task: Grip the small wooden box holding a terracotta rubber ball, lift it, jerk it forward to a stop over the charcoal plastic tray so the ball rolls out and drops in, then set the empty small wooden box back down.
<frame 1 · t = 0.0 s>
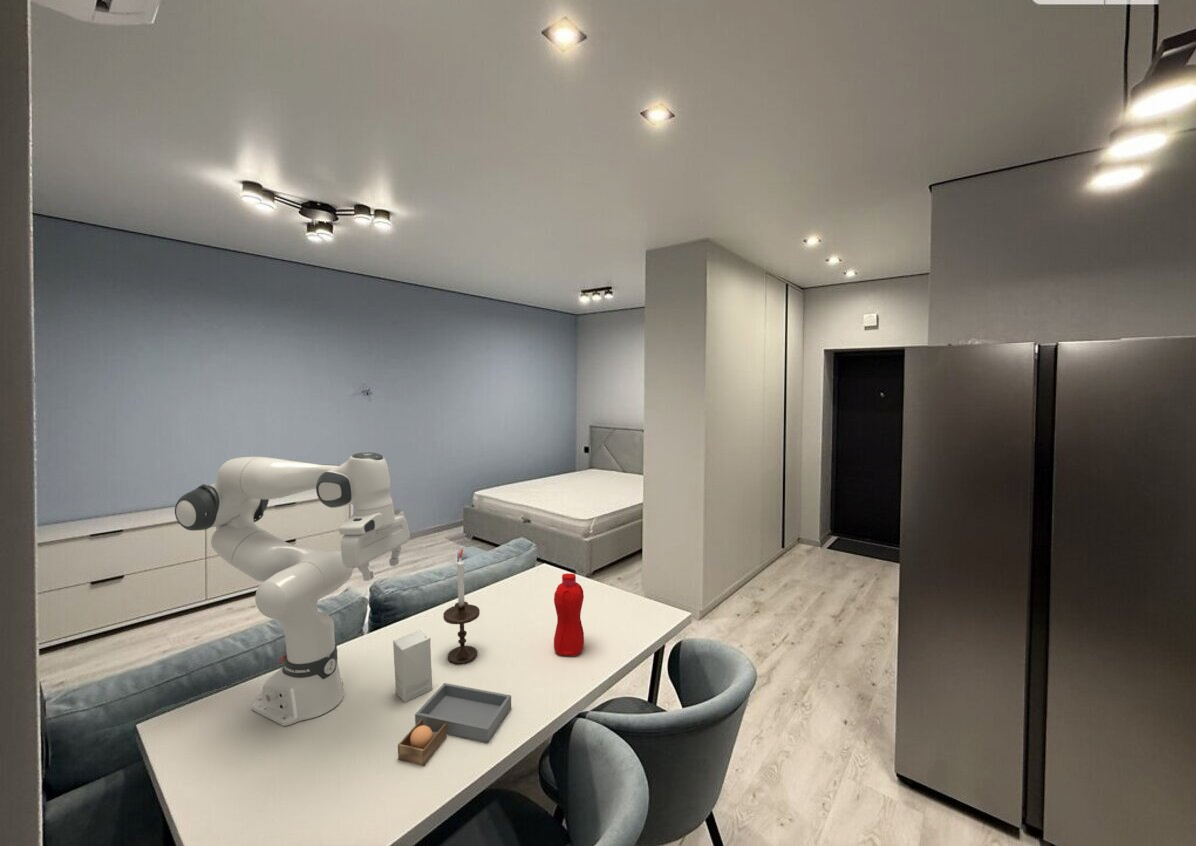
hand: (382, 572, 122), 39 cm above the table, tool pointing down, fingers open, 8 cm apart
water bottle: (569, 648, 159), on the table
skincare box: (414, 692, 136), on the table
small wooden box: (423, 748, 116), on the table, touching ball
candlestick: (462, 657, 153), on the table
ball: (421, 737, 115), point 3 cm above the table, touching small wooden box
tray: (464, 717, 126), on the table
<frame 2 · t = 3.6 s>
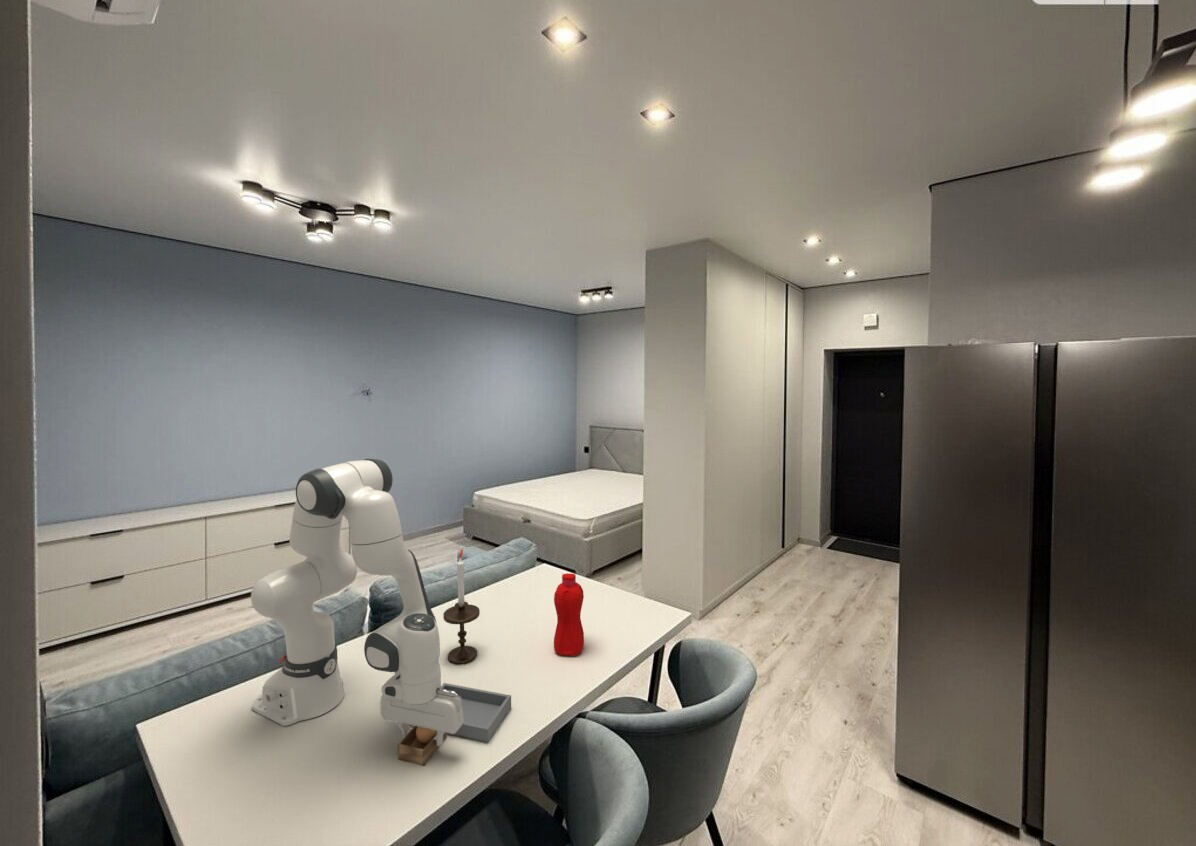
hand: (422, 740, 115), 2 cm above the table, tool pointing down, fingers closed on small wooden box, 7 cm apart
small wooden box: (423, 748, 116), on the table, touching ball, gripper
ball: (427, 731, 117), point 3 cm above the table, tilted 53°, touching small wooden box
everything else where it was.
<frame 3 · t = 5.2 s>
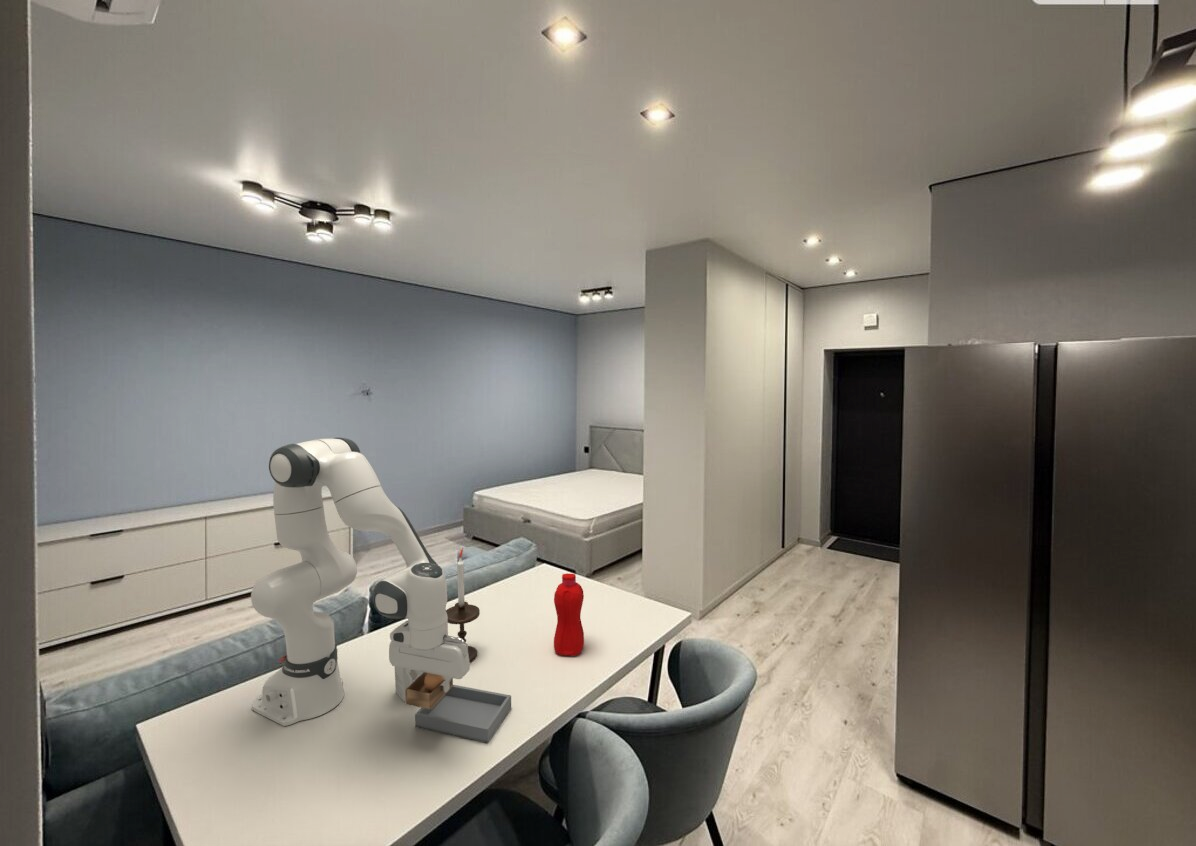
hand: (429, 687, 118), 13 cm above the table, tool pointing down, fingers closed on small wooden box, 7 cm apart
small wooden box: (430, 694, 118), point 11 cm above the table, touching ball, gripper
ball: (435, 680, 119), point 14 cm above the table, tilted 45°, touching small wooden box
everything else where it was.
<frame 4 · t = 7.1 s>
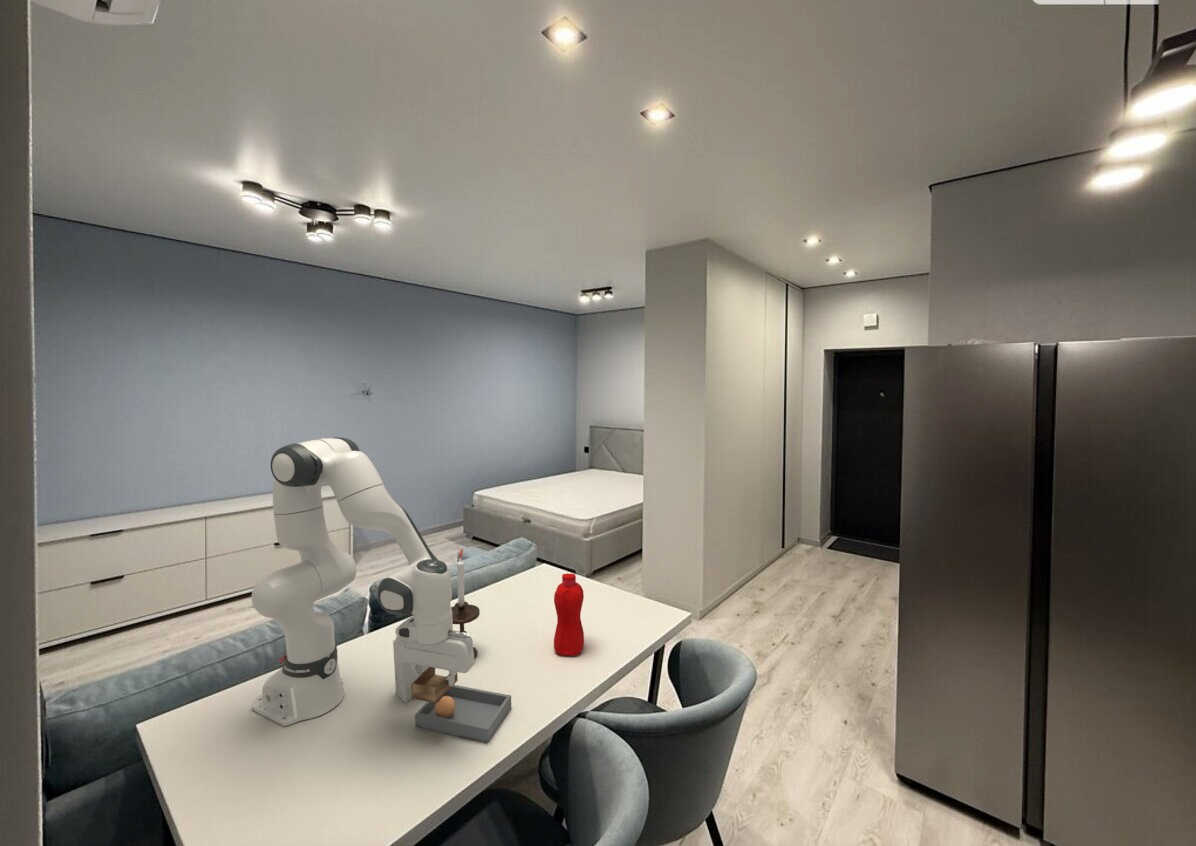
hand: (435, 681, 120), 13 cm above the table, tool pointing down, fingers closed on small wooden box, 7 cm apart
small wooden box: (435, 689, 120), point 11 cm above the table, touching gripper
ball: (445, 707, 125), point 3 cm above the table, tilted 125°, touching tray
everything else where it was.
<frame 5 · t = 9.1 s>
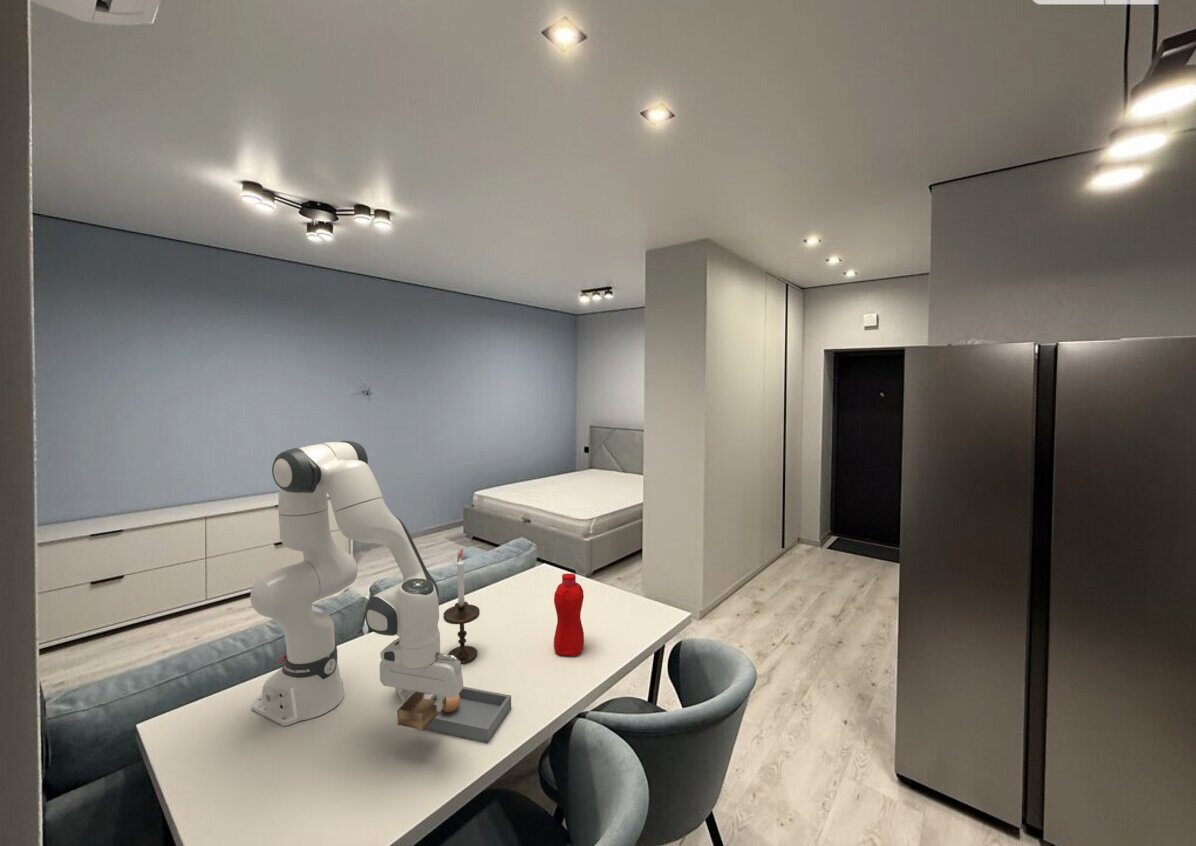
hand: (422, 706, 114), 10 cm above the table, tool pointing down, fingers closed on small wooden box, 7 cm apart
small wooden box: (422, 714, 115), point 9 cm above the table, touching gripper
ball: (450, 700, 128), point 3 cm above the table, tilted 176°, touching tray
everything else where it was.
when the fingers open (2 cm above the table, at t = 11.0 s): small wooden box stays where it is, on the table.
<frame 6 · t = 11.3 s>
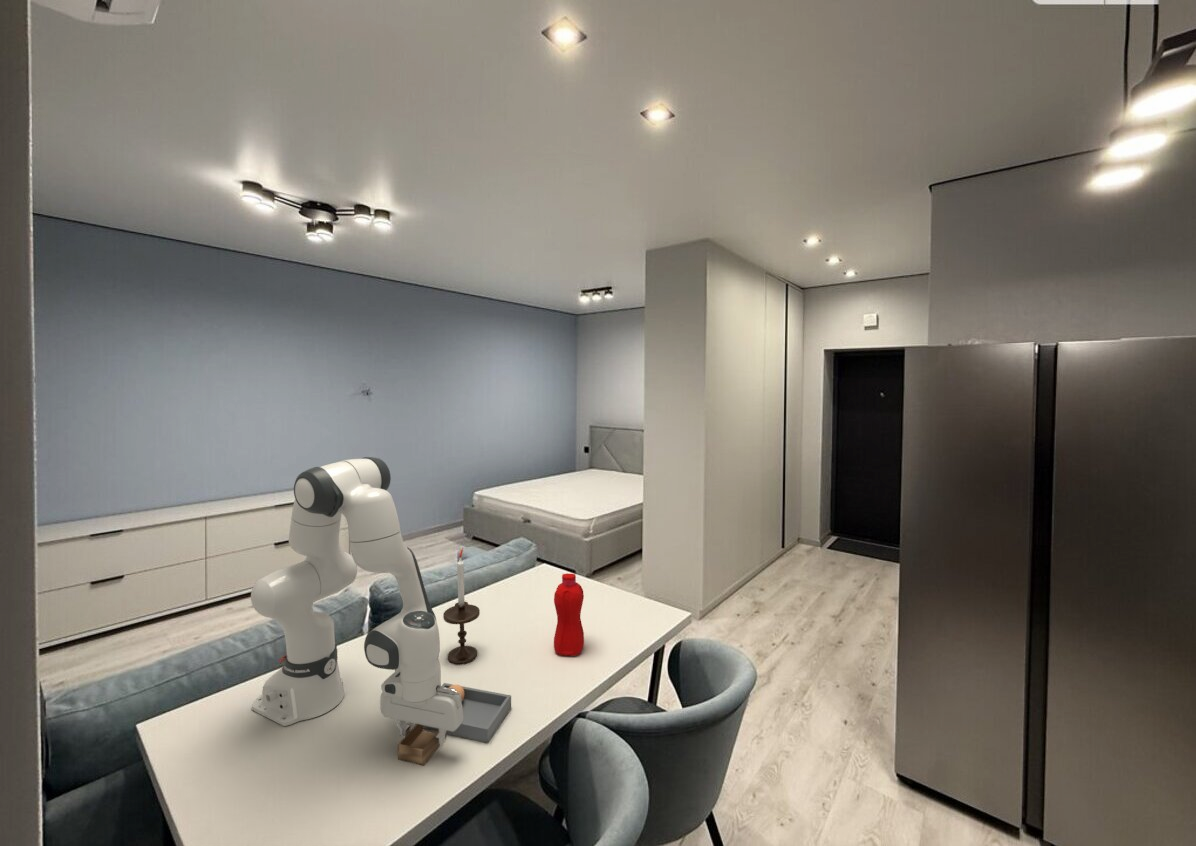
hand: (422, 738, 115), 2 cm above the table, tool pointing down, fingers open, 8 cm apart
small wooden box: (422, 748, 116), on the table
ball: (454, 695, 130), point 3 cm above the table, tilted 123°, touching tray
everything else where it was.
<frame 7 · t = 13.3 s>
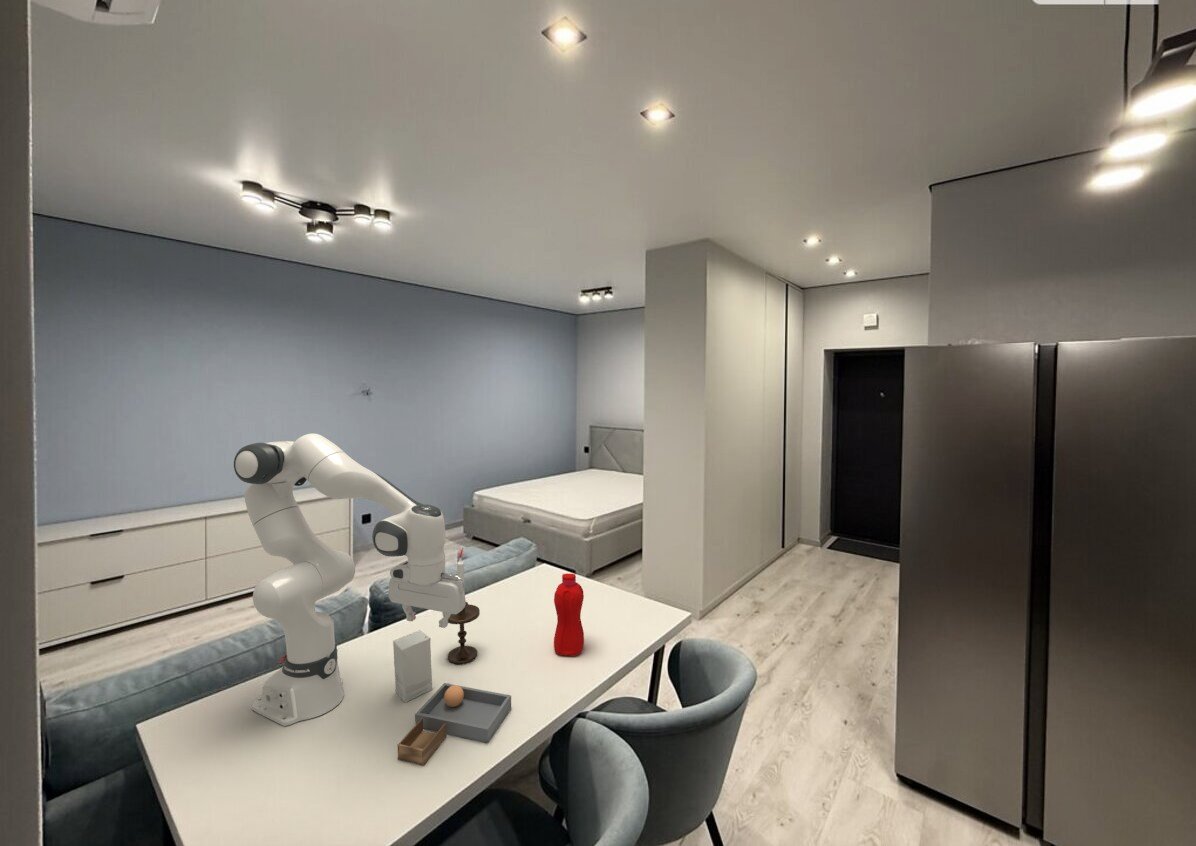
hand: (427, 623, 123), 25 cm above the table, tool pointing down, fingers open, 8 cm apart
ball: (454, 696, 130), point 3 cm above the table, tilted 131°, touching tray
everything else where it was.
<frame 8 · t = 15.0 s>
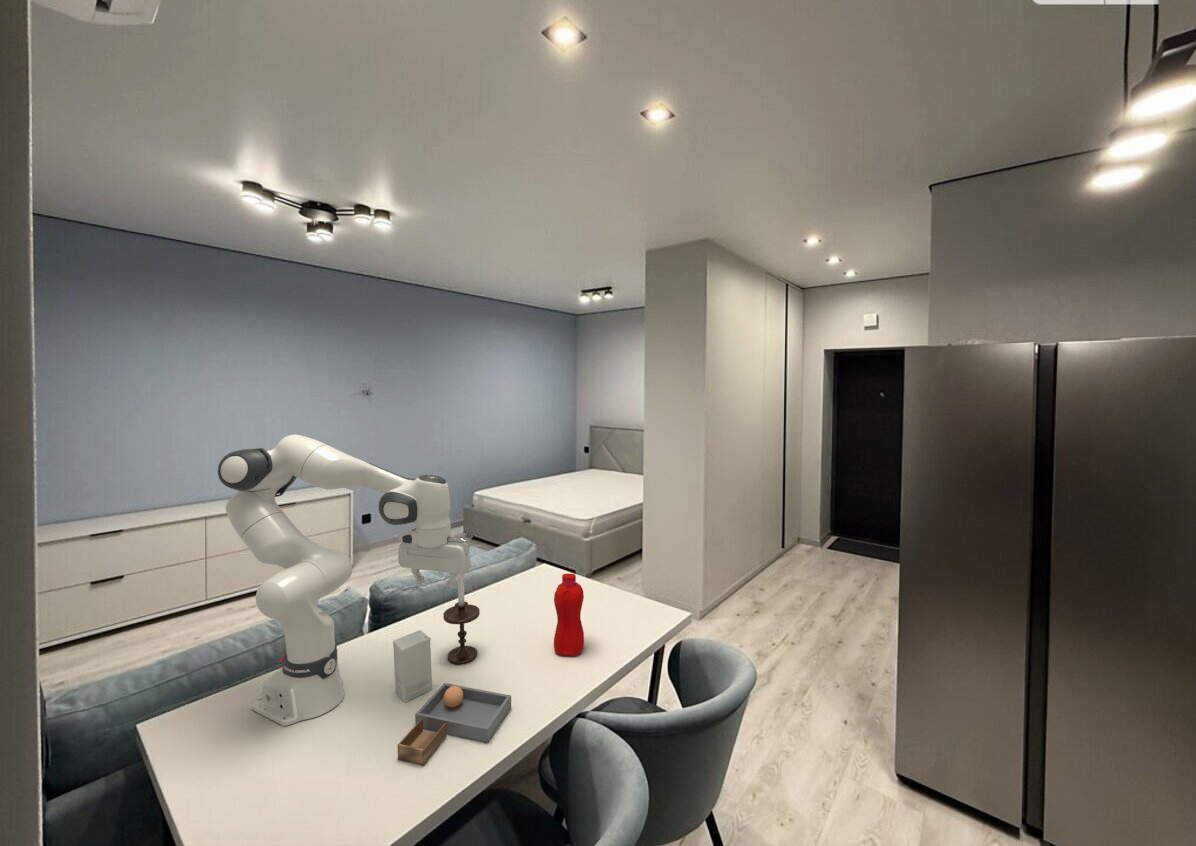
hand: (435, 585, 132), 31 cm above the table, tool pointing down, fingers open, 8 cm apart
ball: (453, 696, 129), point 3 cm above the table, tilted 137°, touching tray
everything else where it was.
at the end: ball inside the target area on the tray (5.3 cm from its centre), point 3.1 cm above the tray's base; small wooden box tilted 0°; the gripper is holding nothing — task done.
